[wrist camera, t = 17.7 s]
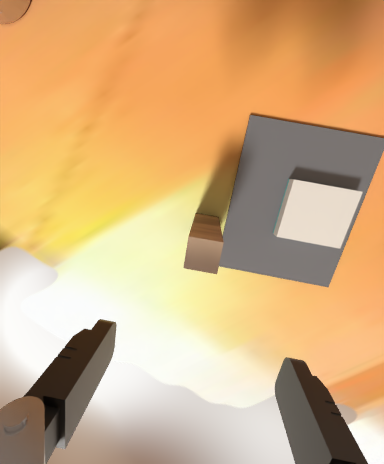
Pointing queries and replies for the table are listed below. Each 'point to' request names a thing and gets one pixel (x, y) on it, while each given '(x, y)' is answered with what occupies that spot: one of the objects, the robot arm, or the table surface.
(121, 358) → the table surface
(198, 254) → the walnut stick
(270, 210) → the mat
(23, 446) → the robot arm
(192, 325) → the table surface
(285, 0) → the table surface
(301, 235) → the tile
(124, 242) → the table surface
